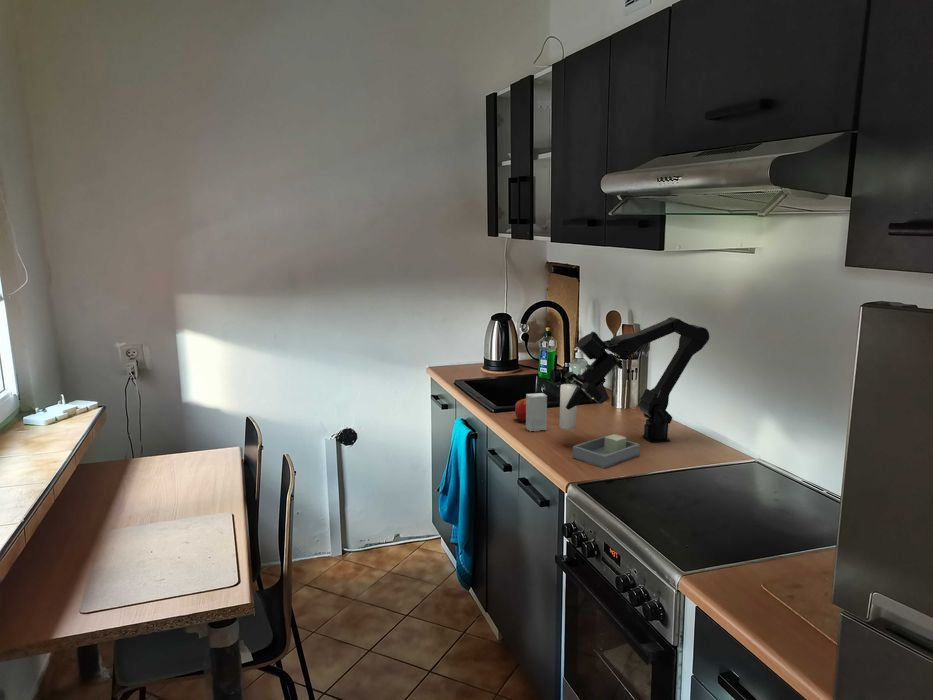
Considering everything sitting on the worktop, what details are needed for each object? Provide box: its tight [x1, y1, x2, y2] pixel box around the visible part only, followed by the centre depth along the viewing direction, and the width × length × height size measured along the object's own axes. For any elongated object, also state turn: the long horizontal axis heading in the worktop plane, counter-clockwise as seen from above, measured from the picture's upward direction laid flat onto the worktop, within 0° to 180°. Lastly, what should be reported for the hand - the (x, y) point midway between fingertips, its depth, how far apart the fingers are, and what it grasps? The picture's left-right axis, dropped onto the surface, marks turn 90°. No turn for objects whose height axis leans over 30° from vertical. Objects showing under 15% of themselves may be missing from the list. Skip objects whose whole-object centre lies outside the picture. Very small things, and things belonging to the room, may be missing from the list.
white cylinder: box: [558, 383, 578, 430], centre depth 209 cm, size 5×5×13 cm
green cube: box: [604, 433, 627, 453], centre depth 203 cm, size 4×4×4 cm
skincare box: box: [525, 392, 548, 432], centre depth 226 cm, size 6×4×12 cm
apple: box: [514, 398, 526, 422], centre depth 236 cm, size 8×8×8 cm
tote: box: [571, 434, 641, 469], centre depth 201 cm, size 17×12×4 cm
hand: (563, 406), depth 209 cm, fingers closed on white cylinder, 5 cm apart
